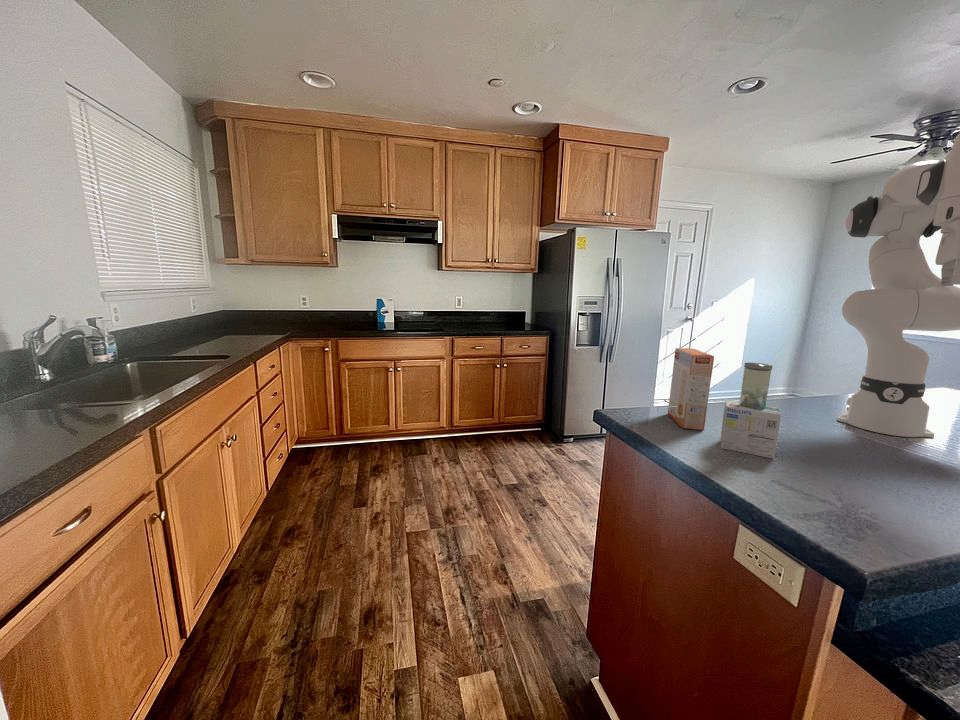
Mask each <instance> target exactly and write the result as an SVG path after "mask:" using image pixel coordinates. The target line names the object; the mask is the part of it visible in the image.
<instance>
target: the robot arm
mask: <svg viewBox="0 0 960 720" xmlns="http://www.w3.org/2000/svg"><path fill="white" fill-rule="evenodd" d="M954 139H955V140H954V141H953V145H952V147H951V149H950V150H949V152H948V154H947V155H946V156H945V157H944V158H943V159H940V160H924V161H918V162H914V163H911V164H908V165H905V166H904V167H902V168H900V169H898V170H897V171H895V172H894V173H893V174H892V175H891V176H890V177H889V178H888V179H887V180H886V182H885V183H884V187H883V190H882V194H881V195H879V196H873V195H870V196H868V197H867V199H866V200H863V201H861V202H859V203H857V204H856V205H855V206H854V207H852V208H851V209H850V210H849V213H848V215H846V220H845V229H846V231H847V234H849V236H850V237H852V238H863V239H865V238H866V237H880V238H878V239H877V240H876V241H874V243H873V244H872V245H871V247H870V250H869V254H868V269H869V274H870V279H871V284H872V286H873V289H865V290H857V291H855V292H853V293H851V294H850V295H849V296H848V297H847V298H846V299H845V301H844V302H843V305H842V307H841V313H842V317H843V319H844V321H845V322H846V323H847V324H849V325H850V326H852V327H853V328H855V329H856V330H857V331H858V332H859V333H860V334H861V336H862V337H863V339H864V341H865V344H866V346H867V359H866V361H867V362H866V367H865V373H864V375H863V376H862V378H861V380H860V386H859V388H860V390H859V391H858V392H854V394H852V395H851V396H850V397H848V398H847V400H846V405H847V407H846V410H845V411H844V412H843V413H841V414H840V415H838V416H837V417H836V421H838V422H841V423H845V424H849V425H851V426H854V427H857V428H859V429H861V430H867V431H870V432H873V433H874V432H875V433H878V434H885V435H890V436H896V437H903V438H920V437H921V438H923V437H924V438H934V437H935V432H932V431H931V430H929V429H928V428H927V423H928V417H929V412H930V405H928V404H927V402H925V401H924V399H923V397H924V394H925V392H926V383H924V382H925V379H926V375H927V370H928V365H929V361H930V357H929V354H928V352H927V351H926V350H925V349H923V347H920V346H918V345H916V344H914V343H911V342H909V341H907V340H905V339H904V337H903V335H904V334H903V332H904V331H919V332H921V331H922V332H949V331H950V332H951V331H960V287H958V286H955V285H960V132H959V133H958V134H957V135H956V137H955V138H954ZM938 231H940V234H942V235H941V238H940V241H939V245H938V248H937V253H936V255H935V266H941V269H940V270H941V271H940V272H941V274H940V275H941V278H940V277H939V276H937V275H936V273H935V274H934V272H933V271H932V270H931V268H930V266H929V264H928V262H927V259H926V257H925V254H924V251H923V249H922V248H921V244H920V240H921V237H922V236H923V237H924V238H930V237H932V236H933V235H934V234H935V233H936V232H938Z"/></svg>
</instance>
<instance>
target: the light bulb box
mask: <svg viewBox="0 0 960 720" xmlns="http://www.w3.org/2000/svg"><path fill="white" fill-rule="evenodd" d="M739 402H740V401H739ZM739 402H738V401H731V400H725V403H724V408H723V409H724V410H723V414H722V415H723V416H722V425H721V434H720V445H719V448H720V449H724V450H729V451H734V452H739V453H744V454H748V455H754V456H759V457H764V458H769V459H775V455H776V450H777V445H778V444H777V443H778V435H779V430H780V422H781V417H782V414H781V412H780V410H779V408H778V407H776V406H768V405H766V407H765V409H751V408H746V407H743V406H740V405H739Z"/></svg>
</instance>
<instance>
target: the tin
mask: <svg viewBox="0 0 960 720" xmlns="http://www.w3.org/2000/svg"><path fill="white" fill-rule="evenodd" d="M743 364H744V370H743V376H742V383H741V391H740V397H739V405H740V406H743V407H746V408H751V409H765V407H766V406H767V401H768V394H769V393H768V392H769V387H770V382H771V374H772V370H773V365H772V364H768V363H761V362H744V363H743Z"/></svg>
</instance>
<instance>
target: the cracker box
mask: <svg viewBox="0 0 960 720" xmlns="http://www.w3.org/2000/svg"><path fill="white" fill-rule="evenodd" d="M714 360H715V356H714V355H713V354H709V353H707V352H704V351H701V350H698V349H696V348H687V347H685V348H684V347H676V348H675V349H674V358H673V367H672V375H671V384H670V391H669V392H670V393H669V399H668V407H669V406H677V407H669V408H668V409H667V415H669V417H671V418H672V419H673V421H675V422H676V423H677V425H678V426H680V428H681V429H684V430H694V431H704V430H705V424H706V417H707V409H708V404H709V396H710V390H711V389H710V388H711V381H712V375H713V368H714V362H715V361H714Z"/></svg>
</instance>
